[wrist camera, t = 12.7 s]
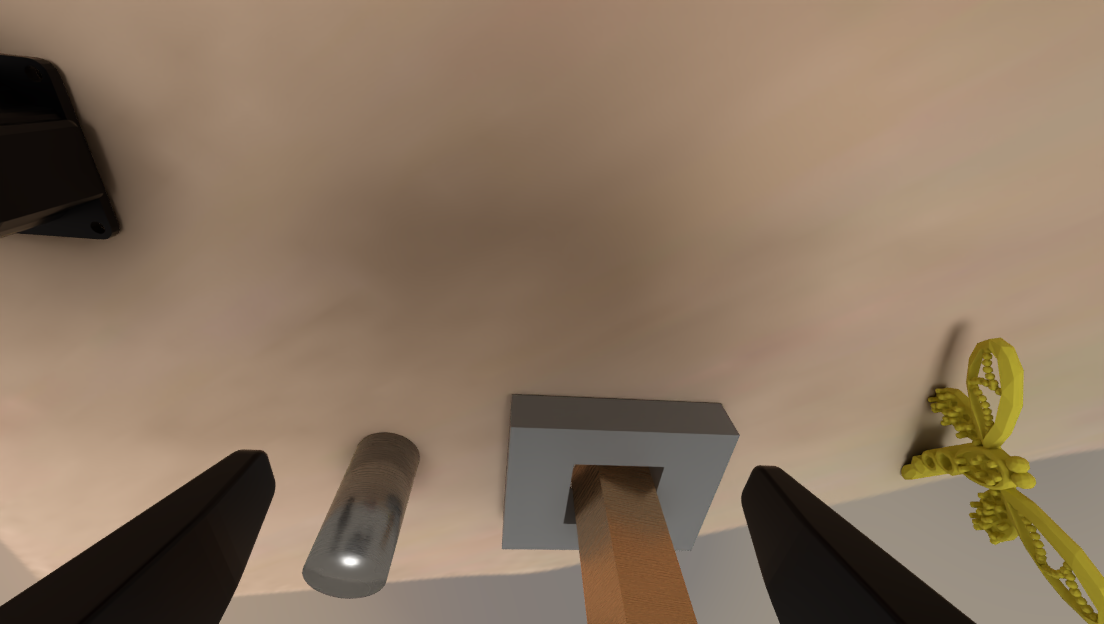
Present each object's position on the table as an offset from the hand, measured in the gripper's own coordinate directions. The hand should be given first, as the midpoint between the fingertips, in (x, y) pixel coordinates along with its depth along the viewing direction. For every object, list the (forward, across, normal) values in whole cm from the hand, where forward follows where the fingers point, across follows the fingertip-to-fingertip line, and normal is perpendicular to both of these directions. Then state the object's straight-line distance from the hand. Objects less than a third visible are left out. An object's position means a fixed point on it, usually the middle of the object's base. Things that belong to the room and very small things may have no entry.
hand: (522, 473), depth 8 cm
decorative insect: (+13, -26, +8) cm, 30 cm away
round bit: (+13, +7, +14) cm, 20 cm away
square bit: (+13, -6, +14) cm, 20 cm away
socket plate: (+13, -6, +14) cm, 20 cm away
